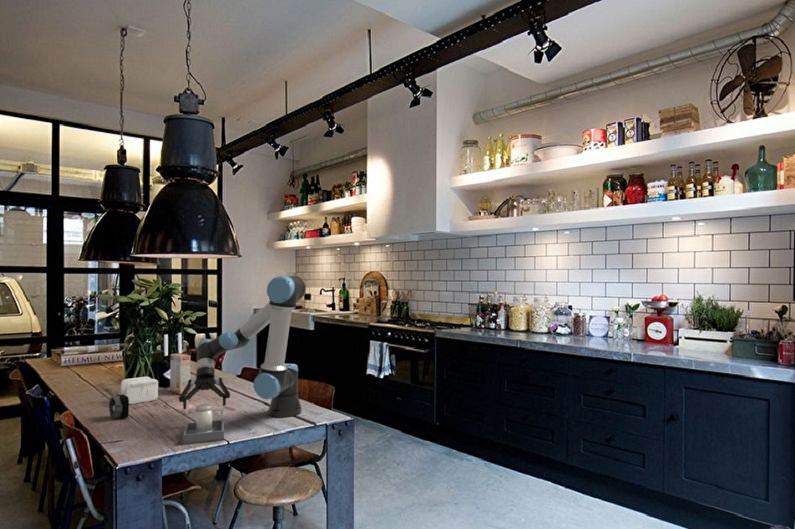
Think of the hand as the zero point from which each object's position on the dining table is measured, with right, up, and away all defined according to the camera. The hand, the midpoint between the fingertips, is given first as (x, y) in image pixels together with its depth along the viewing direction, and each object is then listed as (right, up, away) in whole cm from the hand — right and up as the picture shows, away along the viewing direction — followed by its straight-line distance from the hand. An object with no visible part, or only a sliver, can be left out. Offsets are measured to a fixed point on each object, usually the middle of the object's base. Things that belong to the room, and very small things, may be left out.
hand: (204, 413), depth 204 cm
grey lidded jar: (+3, -6, -7) cm, 10 cm away
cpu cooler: (-46, -8, +19) cm, 51 cm away
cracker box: (-41, -9, +70) cm, 81 cm away
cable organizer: (-53, -9, +49) cm, 72 cm away
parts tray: (+3, -7, -7) cm, 10 cm away
